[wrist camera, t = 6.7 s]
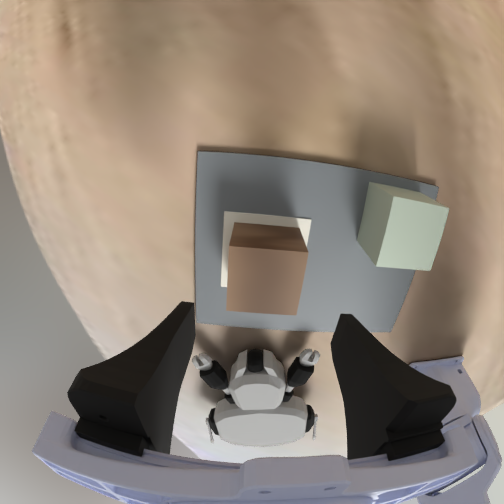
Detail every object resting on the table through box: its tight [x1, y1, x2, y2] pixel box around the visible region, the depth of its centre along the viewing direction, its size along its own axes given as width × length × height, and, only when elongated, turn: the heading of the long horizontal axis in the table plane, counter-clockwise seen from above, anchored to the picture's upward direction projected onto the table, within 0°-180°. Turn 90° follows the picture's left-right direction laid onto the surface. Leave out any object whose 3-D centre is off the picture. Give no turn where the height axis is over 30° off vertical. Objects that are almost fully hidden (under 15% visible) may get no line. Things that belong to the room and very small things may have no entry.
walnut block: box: [226, 222, 309, 315], centre depth 19 cm, size 4×4×4 cm
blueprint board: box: [195, 151, 439, 332], centre depth 21 cm, size 18×14×1 cm
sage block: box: [357, 182, 449, 271], centre depth 17 cm, size 4×4×4 cm
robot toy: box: [192, 349, 320, 447], centre depth 26 cm, size 12×4×15 cm
